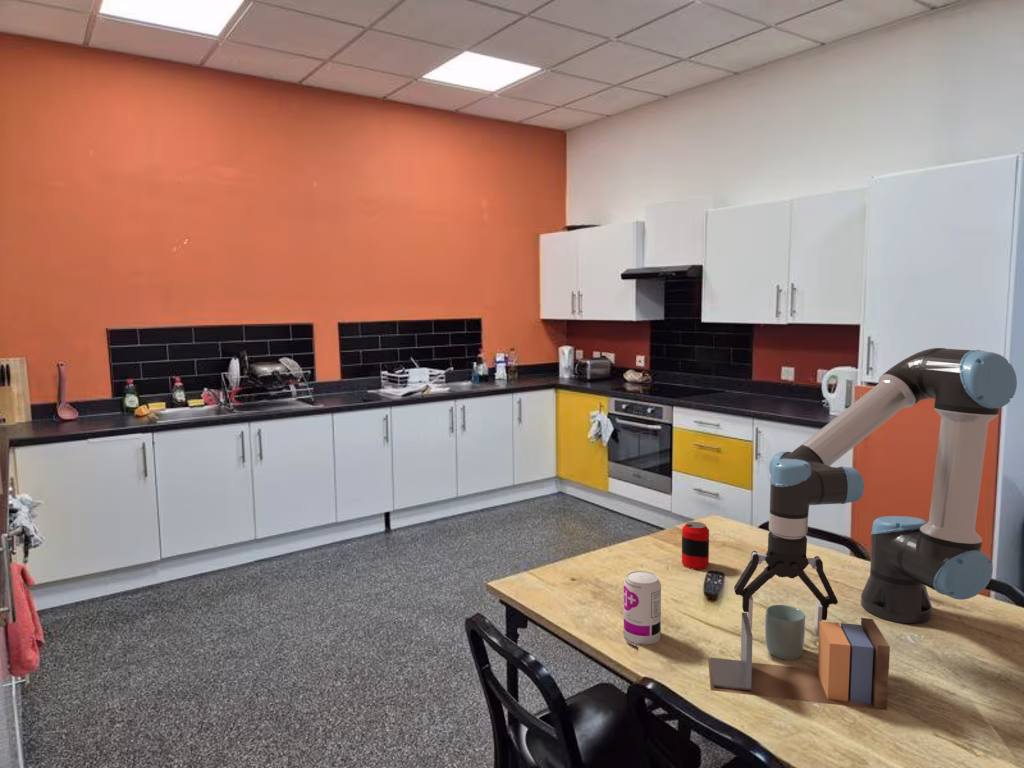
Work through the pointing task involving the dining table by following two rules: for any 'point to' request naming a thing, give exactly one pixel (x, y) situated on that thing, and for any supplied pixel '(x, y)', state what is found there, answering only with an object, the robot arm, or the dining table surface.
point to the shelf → (808, 683)
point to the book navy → (859, 663)
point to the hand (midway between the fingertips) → (782, 629)
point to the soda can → (695, 545)
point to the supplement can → (642, 608)
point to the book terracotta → (833, 660)
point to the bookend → (735, 663)
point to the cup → (784, 631)
